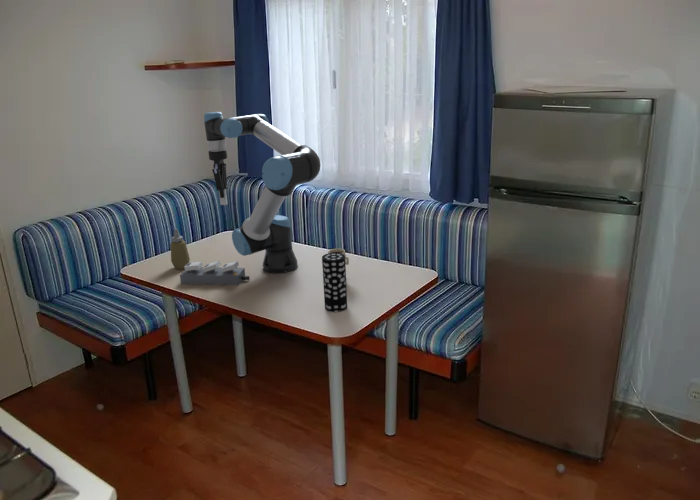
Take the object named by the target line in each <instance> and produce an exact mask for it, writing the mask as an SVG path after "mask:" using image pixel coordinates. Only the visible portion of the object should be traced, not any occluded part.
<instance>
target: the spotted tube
mask: <svg viewBox="0 0 700 500" xmlns="http://www.w3.org/2000/svg"><path fill="white" fill-rule="evenodd" d="M345 255H346V254H345ZM345 255H344V254H341V253H328V252H327V253H325V254H323V255H322V257H321V264H322V281H323V295H324V297H323V298H324V309H325V310H326V311H327V312H330V313H340V312H343V311H345V310H347V308H348V294H347V293H348V291H347V269H346V265H345Z"/></svg>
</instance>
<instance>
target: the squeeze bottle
mask: <svg viewBox="0 0 700 500" xmlns="http://www.w3.org/2000/svg"><path fill="white" fill-rule="evenodd" d="M179 232H180V231H179V229H178V228H174V233H173V236H172V237H171V240H172V242H171V243H170V262H171V263H172V266H173V267H174V269H175V270H185V268H184V267H185V266H186V265H187V264H188V263H190V260H191V259H190V254H189V251H188V246H187V243H186V241H185V240H184V237H183V235H180V233H179Z"/></svg>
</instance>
